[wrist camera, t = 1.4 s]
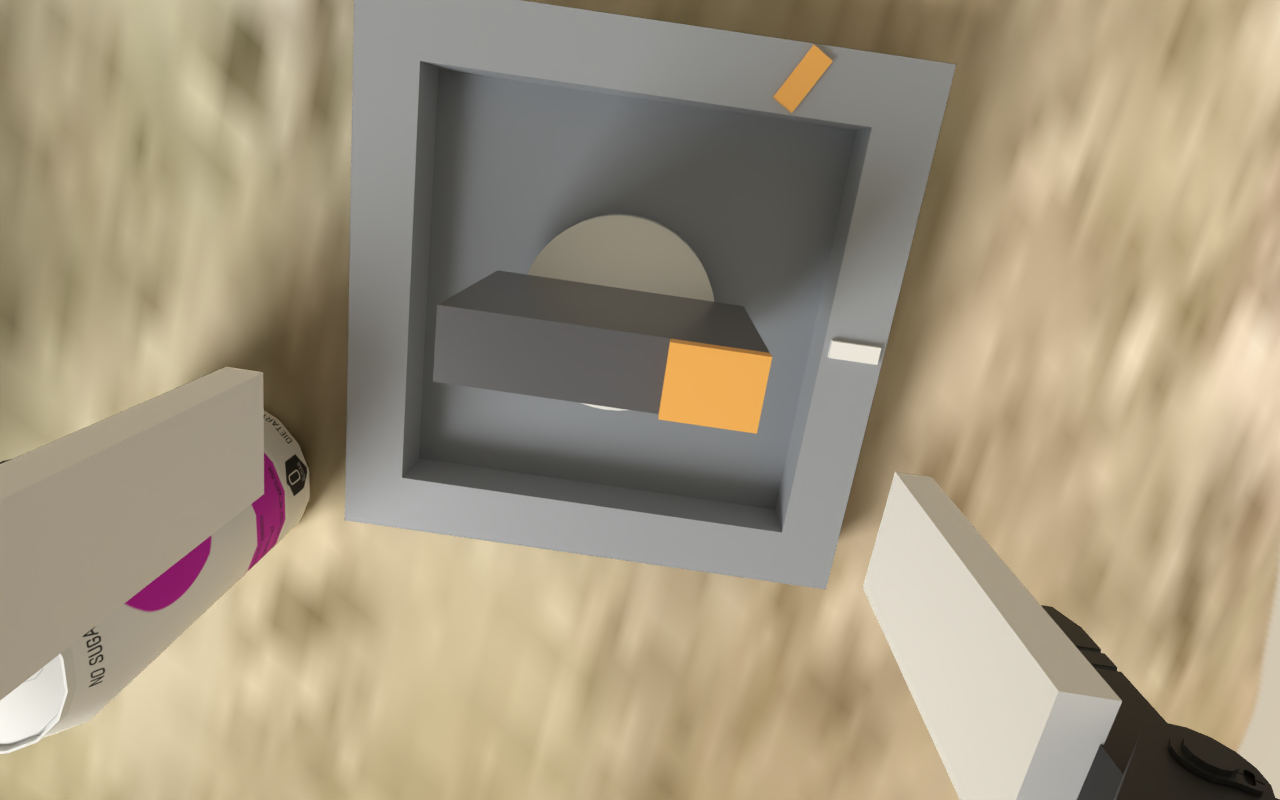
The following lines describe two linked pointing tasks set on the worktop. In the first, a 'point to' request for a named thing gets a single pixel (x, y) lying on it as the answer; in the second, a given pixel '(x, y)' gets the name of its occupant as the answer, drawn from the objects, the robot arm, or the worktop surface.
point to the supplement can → (159, 607)
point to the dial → (609, 329)
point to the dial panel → (644, 186)
